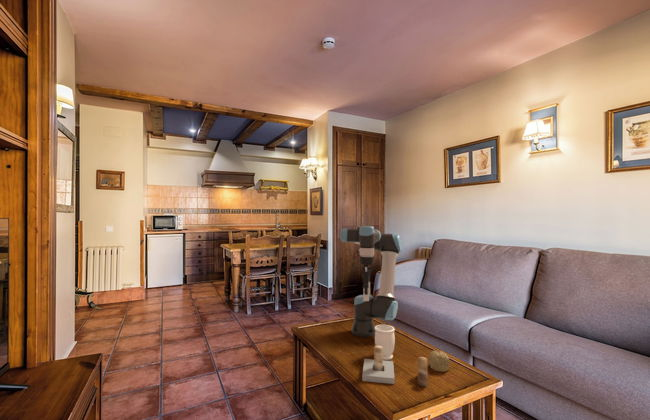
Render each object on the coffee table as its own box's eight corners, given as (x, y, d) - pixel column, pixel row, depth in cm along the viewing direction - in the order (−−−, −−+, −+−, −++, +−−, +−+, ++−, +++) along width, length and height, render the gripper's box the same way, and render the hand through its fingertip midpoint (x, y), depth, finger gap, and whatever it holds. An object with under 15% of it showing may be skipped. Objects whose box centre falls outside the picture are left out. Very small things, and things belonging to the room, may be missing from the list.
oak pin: (417, 373, 142) (417, 356, 142) (426, 374, 141) (426, 357, 141) (418, 378, 138) (418, 360, 138) (428, 379, 137) (427, 361, 137)
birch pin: (374, 370, 145) (374, 345, 145) (382, 371, 144) (382, 346, 144) (374, 375, 141) (374, 349, 141) (382, 376, 140) (382, 349, 140)
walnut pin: (415, 382, 134) (416, 371, 134) (422, 380, 136) (423, 369, 135) (422, 387, 130) (422, 376, 130) (429, 386, 132) (430, 374, 132)
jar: (395, 362, 153) (395, 332, 154) (374, 360, 155) (374, 330, 156) (394, 353, 164) (394, 324, 164) (375, 351, 166) (375, 323, 166)
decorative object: (428, 370, 152) (421, 357, 149) (441, 356, 155) (434, 342, 152) (443, 381, 144) (436, 367, 141) (456, 366, 147) (450, 351, 144)
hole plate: (364, 363, 152) (364, 358, 152) (393, 366, 149) (393, 361, 149) (362, 380, 136) (362, 375, 136) (394, 384, 133) (394, 378, 133)
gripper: (361, 252, 170) (361, 291, 170) (357, 259, 146) (357, 303, 145) (374, 253, 169) (374, 291, 169) (373, 259, 145) (373, 304, 144)
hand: (366, 297), depth 157 cm, fingers open, 13 cm apart
